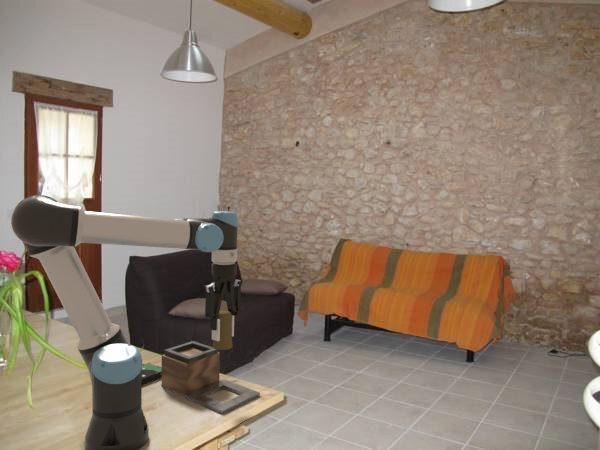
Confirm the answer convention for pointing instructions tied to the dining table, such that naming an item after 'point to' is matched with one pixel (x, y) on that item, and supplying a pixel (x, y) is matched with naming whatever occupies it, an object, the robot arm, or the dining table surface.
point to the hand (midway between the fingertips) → (222, 337)
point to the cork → (224, 332)
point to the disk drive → (150, 373)
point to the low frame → (222, 408)
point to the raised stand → (190, 367)
